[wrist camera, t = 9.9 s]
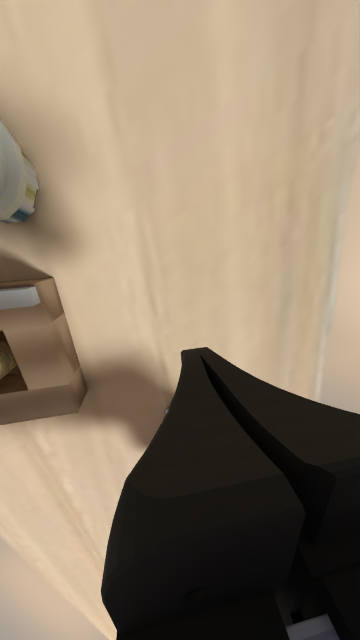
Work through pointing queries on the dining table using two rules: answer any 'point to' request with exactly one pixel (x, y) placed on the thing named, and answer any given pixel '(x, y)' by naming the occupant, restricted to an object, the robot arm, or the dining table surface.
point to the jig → (38, 354)
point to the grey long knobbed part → (15, 180)
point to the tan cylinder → (6, 356)
